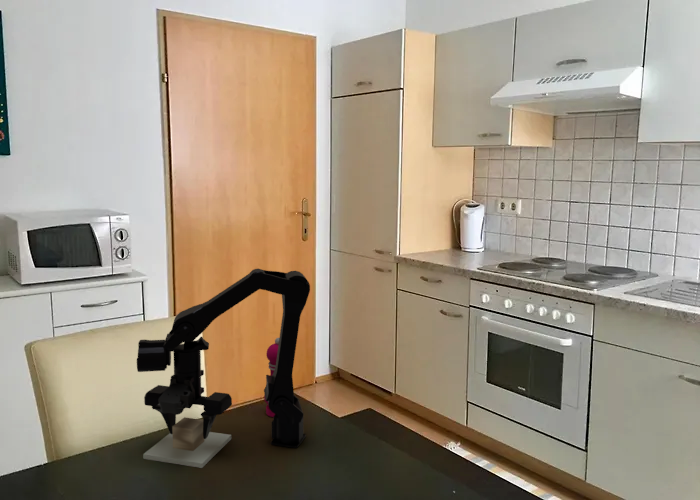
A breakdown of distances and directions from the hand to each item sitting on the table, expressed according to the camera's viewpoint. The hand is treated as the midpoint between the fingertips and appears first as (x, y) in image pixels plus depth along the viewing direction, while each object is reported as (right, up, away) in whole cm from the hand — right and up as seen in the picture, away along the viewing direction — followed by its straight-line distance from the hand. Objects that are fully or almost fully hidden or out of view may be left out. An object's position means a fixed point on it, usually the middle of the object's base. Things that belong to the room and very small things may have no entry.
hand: (188, 435), depth 134 cm
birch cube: (0, -2, 0) cm, 2 cm away
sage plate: (0, -3, 0) cm, 3 cm away
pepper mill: (+18, -1, +21) cm, 27 cm away
